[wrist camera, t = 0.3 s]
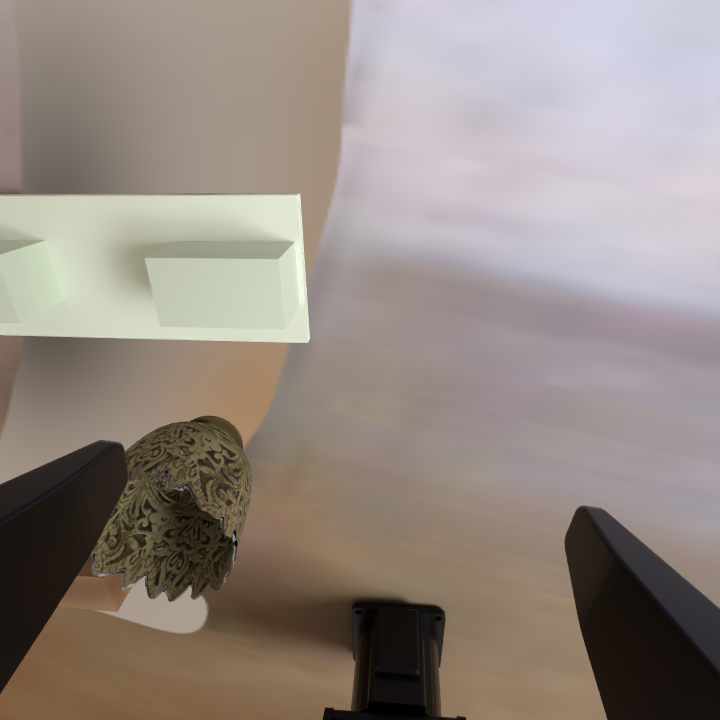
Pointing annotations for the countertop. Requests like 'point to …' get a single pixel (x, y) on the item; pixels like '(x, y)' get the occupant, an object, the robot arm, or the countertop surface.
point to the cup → (179, 510)
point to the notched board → (121, 256)
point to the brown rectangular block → (95, 591)
